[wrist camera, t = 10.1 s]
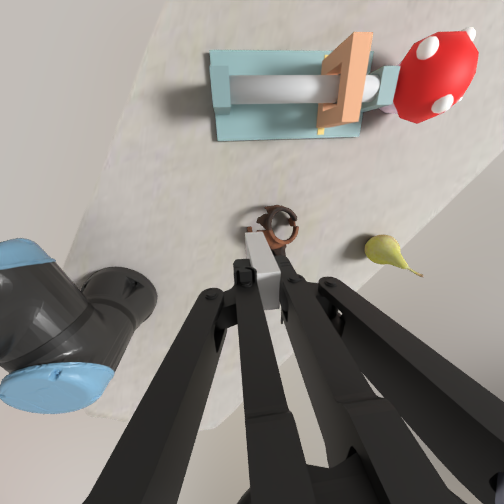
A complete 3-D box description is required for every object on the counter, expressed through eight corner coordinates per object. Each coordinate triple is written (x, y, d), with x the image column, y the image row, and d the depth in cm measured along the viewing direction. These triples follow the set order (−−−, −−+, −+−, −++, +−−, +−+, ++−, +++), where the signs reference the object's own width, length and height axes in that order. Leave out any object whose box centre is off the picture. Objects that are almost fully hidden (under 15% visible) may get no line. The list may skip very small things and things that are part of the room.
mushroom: (383, 41, 34) (456, -9, 23) (437, 63, 36) (526, 27, 26) (355, 116, 38) (406, 104, 28) (405, 132, 41) (470, 126, 30)
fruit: (372, 225, 49) (413, 247, 38) (393, 239, 51) (438, 263, 40) (353, 249, 51) (387, 275, 40) (374, 261, 53) (412, 289, 42)
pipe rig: (217, 141, 38) (216, 139, 30) (209, 52, 32) (205, 24, 25) (356, 136, 40) (385, 134, 33) (369, 53, 35) (409, 27, 27)
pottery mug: (238, 215, 45) (257, 210, 37) (273, 203, 48) (296, 196, 41) (256, 267, 47) (277, 271, 40) (288, 251, 51) (312, 253, 44)
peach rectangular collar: (316, 127, 37) (341, 122, 29) (322, 60, 33) (353, 31, 25) (329, 127, 37) (358, 121, 29) (337, 60, 33) (373, 32, 25)
